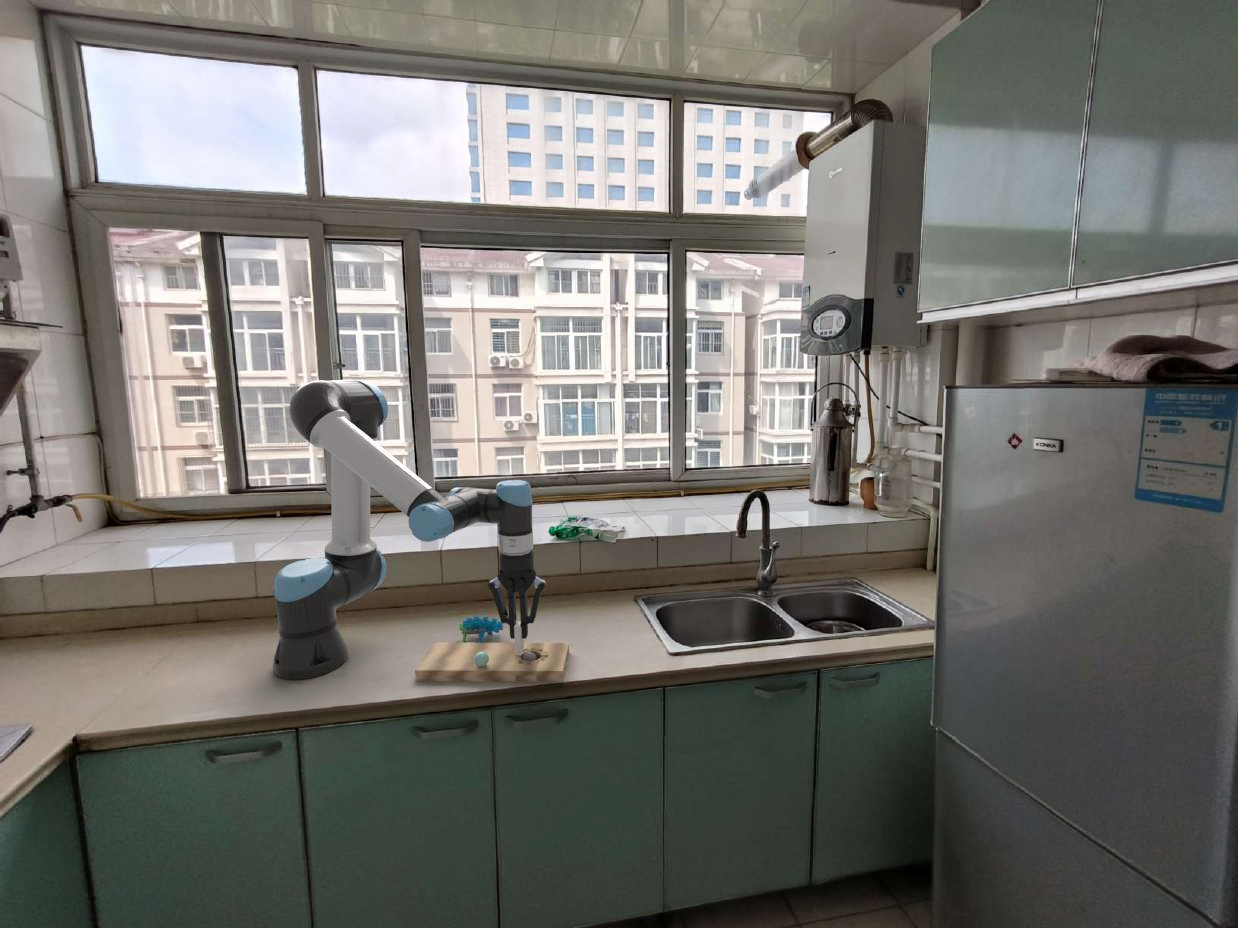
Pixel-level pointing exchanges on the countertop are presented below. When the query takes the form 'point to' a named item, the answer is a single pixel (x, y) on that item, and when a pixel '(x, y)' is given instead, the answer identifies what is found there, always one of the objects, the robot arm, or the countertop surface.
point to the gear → (479, 627)
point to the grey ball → (529, 656)
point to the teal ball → (481, 659)
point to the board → (494, 663)
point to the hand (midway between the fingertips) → (519, 651)
